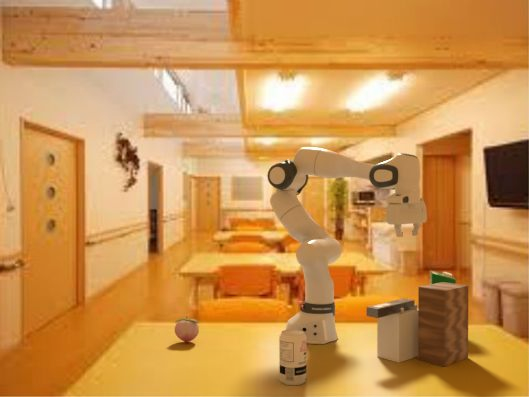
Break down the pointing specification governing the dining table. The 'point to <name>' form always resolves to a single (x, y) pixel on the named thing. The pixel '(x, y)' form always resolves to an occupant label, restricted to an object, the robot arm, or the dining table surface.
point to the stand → (442, 323)
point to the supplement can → (292, 357)
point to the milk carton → (441, 277)
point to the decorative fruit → (186, 329)
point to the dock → (398, 335)
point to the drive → (390, 308)
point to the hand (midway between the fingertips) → (407, 236)
